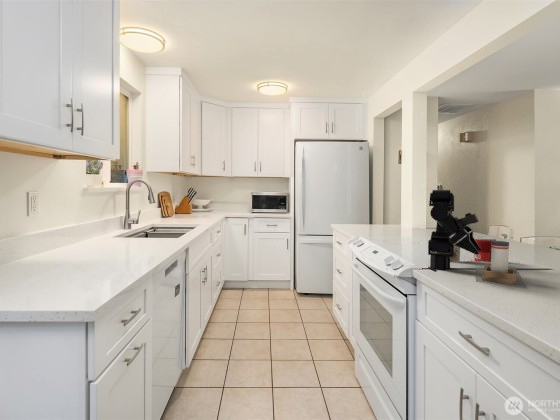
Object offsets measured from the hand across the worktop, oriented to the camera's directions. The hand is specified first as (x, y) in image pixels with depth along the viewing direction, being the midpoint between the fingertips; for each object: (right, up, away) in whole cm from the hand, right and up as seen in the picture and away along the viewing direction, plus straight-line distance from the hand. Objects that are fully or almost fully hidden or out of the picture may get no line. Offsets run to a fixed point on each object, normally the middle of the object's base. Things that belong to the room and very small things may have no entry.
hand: (479, 252), depth 112 cm
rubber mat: (+8, -10, +1) cm, 12 cm away
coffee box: (+4, -9, +27) cm, 29 cm away
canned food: (+21, -8, +28) cm, 36 cm away
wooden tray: (+5, -9, -4) cm, 11 cm away
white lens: (+5, -9, -4) cm, 11 cm away
